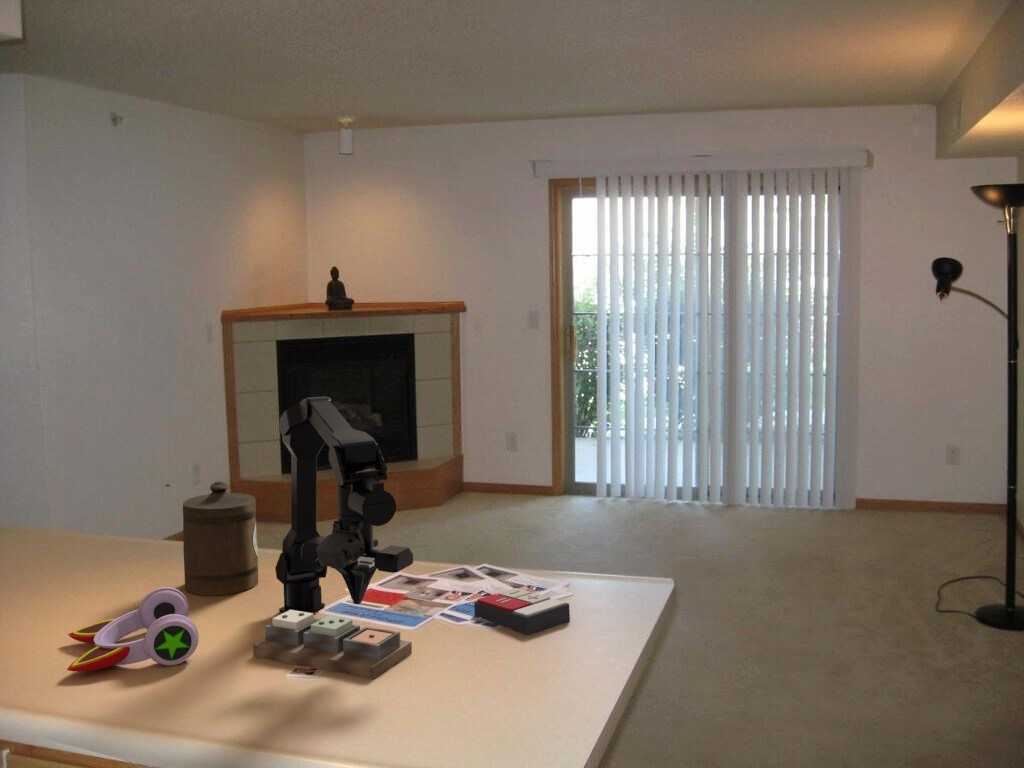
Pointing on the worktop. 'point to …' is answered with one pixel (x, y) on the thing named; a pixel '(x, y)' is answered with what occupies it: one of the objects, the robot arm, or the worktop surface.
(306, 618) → the button cream
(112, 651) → the headphones
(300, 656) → the button panel
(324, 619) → the button sage
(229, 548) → the wooden container
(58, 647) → the worktop surface
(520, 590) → the calculator
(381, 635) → the button terracotta
